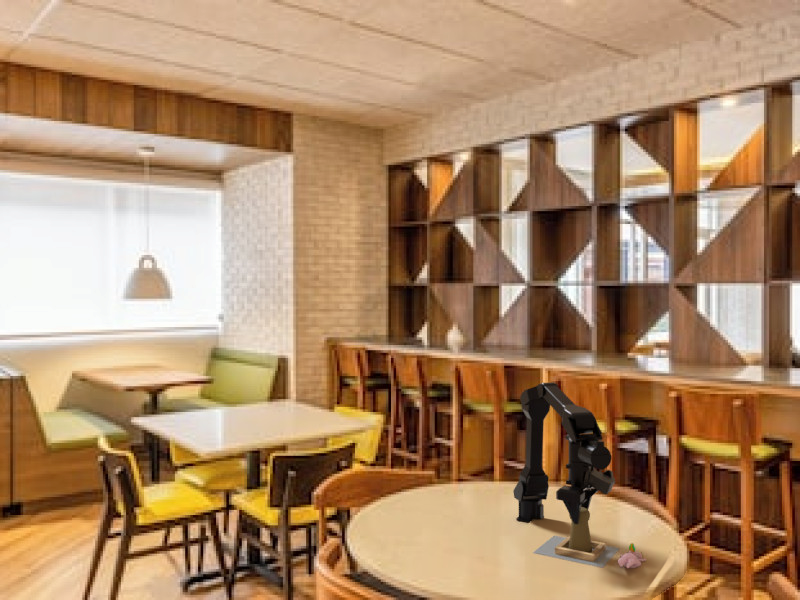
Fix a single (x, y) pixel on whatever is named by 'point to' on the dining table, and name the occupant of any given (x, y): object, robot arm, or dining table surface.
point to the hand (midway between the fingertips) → (580, 520)
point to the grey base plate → (549, 550)
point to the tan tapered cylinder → (581, 533)
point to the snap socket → (592, 556)
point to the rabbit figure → (631, 558)
